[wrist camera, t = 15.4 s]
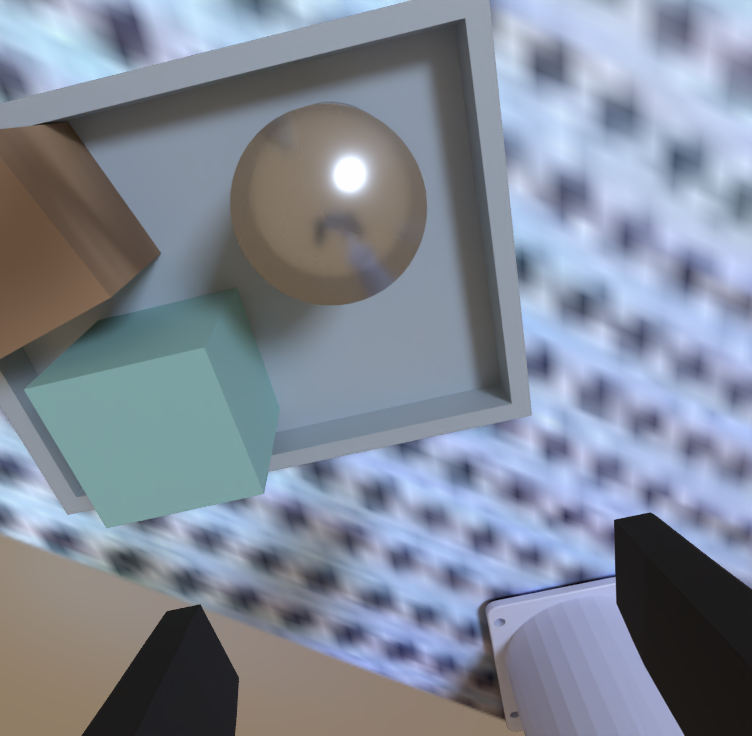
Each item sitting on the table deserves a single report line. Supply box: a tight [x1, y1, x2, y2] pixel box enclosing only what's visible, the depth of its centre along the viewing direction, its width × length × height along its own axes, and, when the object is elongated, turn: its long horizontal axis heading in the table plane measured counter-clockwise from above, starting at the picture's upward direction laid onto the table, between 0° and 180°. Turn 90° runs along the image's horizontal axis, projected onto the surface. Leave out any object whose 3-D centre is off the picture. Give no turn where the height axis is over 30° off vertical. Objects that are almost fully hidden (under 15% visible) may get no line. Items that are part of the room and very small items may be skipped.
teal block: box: [24, 287, 280, 528], centre depth 16 cm, size 4×4×4 cm
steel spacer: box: [230, 102, 427, 306], centre depth 13 cm, size 4×4×5 cm
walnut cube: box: [0, 122, 161, 359], centre depth 14 cm, size 4×4×4 cm
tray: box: [0, 0, 532, 515], centre depth 17 cm, size 12×16×2 cm
